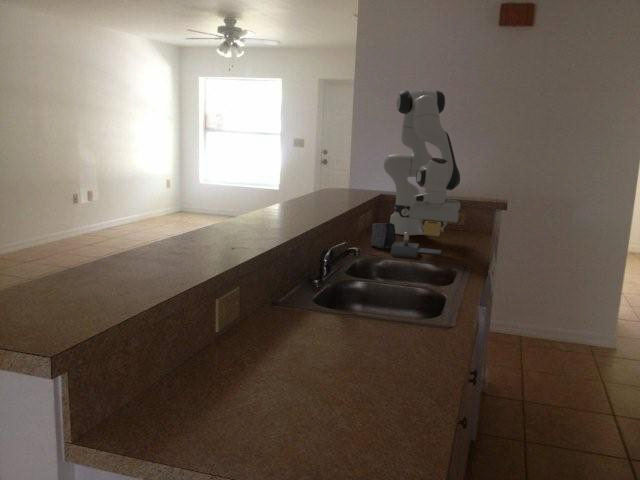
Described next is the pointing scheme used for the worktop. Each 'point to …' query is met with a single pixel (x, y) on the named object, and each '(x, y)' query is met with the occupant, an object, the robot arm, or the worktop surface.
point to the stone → (383, 235)
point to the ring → (432, 228)
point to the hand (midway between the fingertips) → (431, 231)
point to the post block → (405, 248)
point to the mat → (429, 251)
